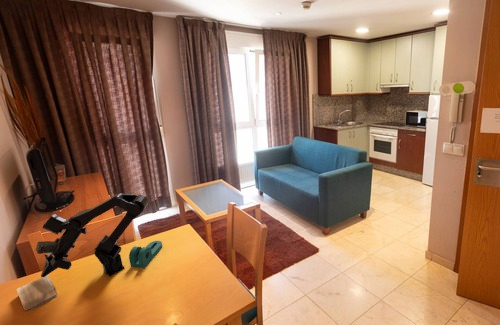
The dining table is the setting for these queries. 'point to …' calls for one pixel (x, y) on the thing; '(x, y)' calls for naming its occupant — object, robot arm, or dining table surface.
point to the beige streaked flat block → (36, 292)
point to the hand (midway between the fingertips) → (42, 276)
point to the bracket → (144, 254)
